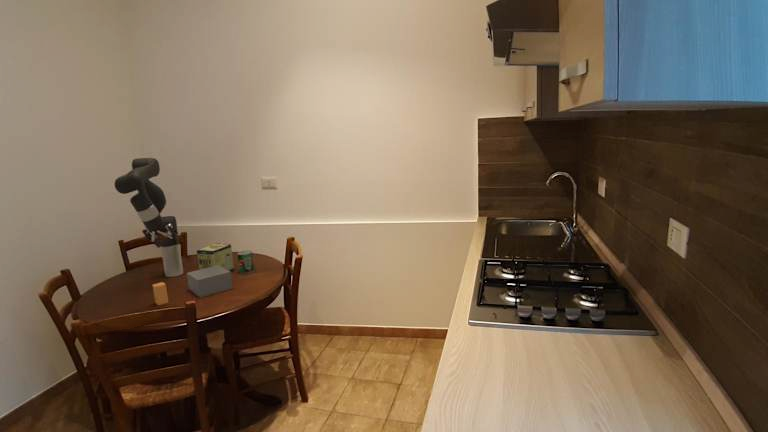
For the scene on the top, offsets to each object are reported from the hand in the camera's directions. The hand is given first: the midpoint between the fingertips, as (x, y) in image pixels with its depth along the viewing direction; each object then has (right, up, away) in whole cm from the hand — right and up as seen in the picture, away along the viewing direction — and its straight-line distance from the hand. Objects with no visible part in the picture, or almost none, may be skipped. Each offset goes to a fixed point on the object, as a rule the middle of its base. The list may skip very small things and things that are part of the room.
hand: (168, 245), depth 199 cm
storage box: (+11, -24, +22) cm, 34 cm away
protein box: (+5, -19, +45) cm, 50 cm away
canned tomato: (+21, -18, +47) cm, 55 cm away
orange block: (-6, -27, +7) cm, 29 cm away
